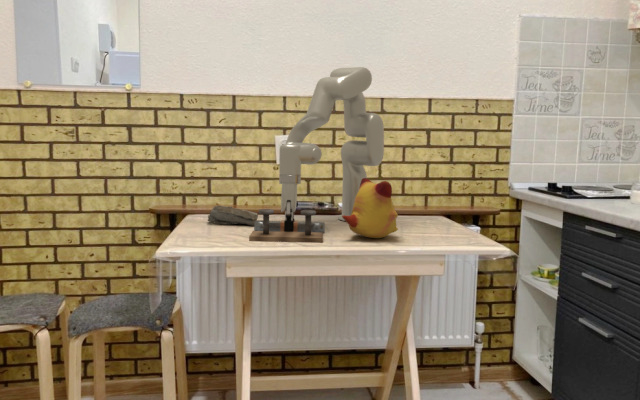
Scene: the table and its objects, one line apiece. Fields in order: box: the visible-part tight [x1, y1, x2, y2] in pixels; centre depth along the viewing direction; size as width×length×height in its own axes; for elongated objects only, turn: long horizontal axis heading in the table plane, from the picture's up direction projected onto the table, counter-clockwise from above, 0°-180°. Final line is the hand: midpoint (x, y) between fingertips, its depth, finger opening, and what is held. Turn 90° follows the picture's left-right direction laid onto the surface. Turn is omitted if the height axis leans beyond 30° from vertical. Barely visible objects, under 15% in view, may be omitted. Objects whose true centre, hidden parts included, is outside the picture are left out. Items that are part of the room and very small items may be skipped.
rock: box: [207, 204, 259, 227], centre depth 216 cm, size 11×18×10 cm, turn 86°
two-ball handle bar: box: [253, 219, 326, 234], centre depth 204 cm, size 25×5×4 cm, turn 89°
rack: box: [248, 208, 324, 243], centre depth 191 cm, size 24×9×10 cm, turn 89°
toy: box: [342, 177, 399, 239], centre depth 194 cm, size 20×21×20 cm
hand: (289, 230), depth 204 cm, fingers closed on two-ball handle bar, 4 cm apart
